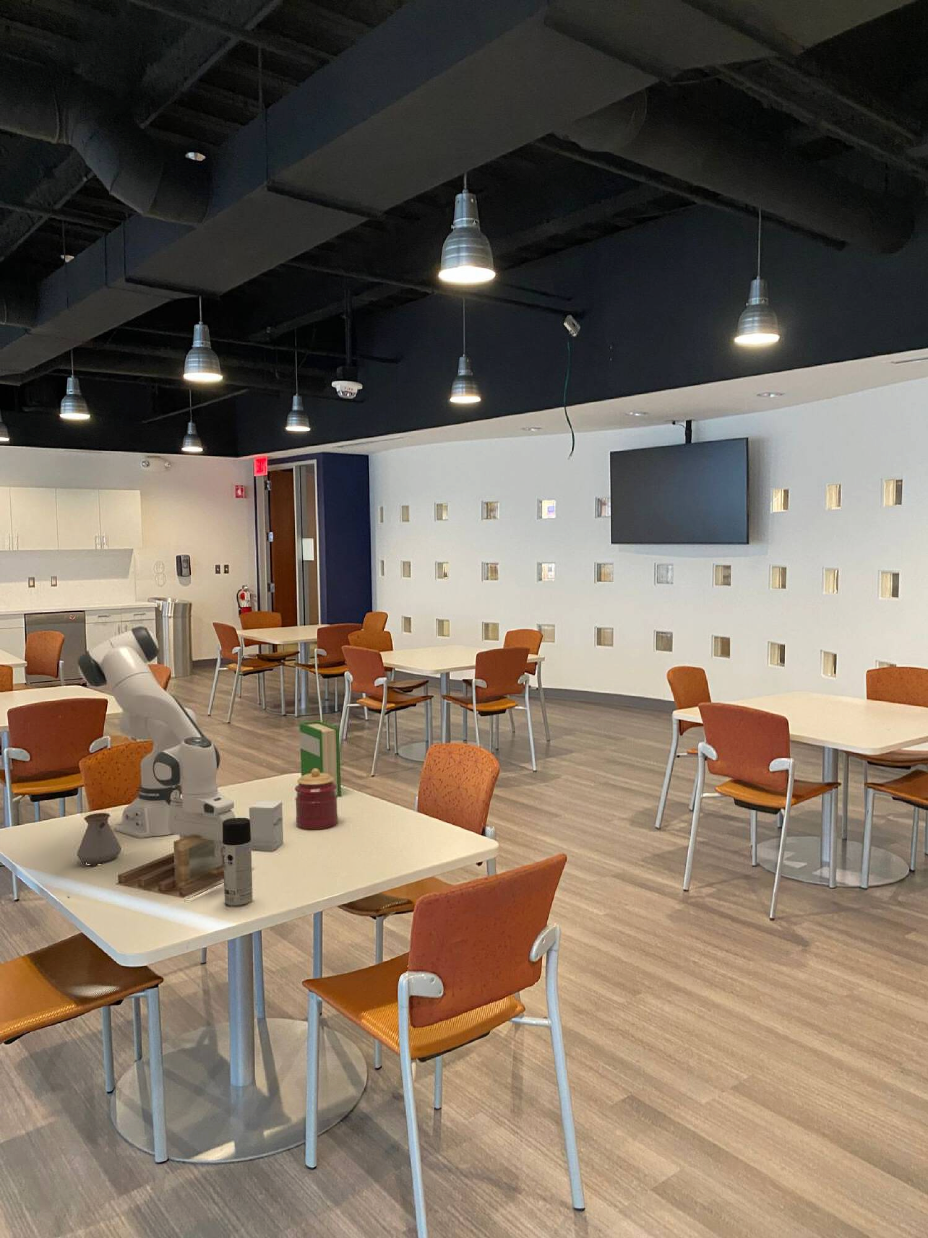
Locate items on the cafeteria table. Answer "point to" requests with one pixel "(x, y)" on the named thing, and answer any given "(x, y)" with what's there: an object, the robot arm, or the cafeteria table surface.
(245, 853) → the spray can
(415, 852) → the cafeteria table surface
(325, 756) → the hardback book
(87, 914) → the cafeteria table surface
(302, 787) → the canister
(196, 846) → the wooden picture frame
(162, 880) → the slotted rack
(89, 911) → the cafeteria table surface
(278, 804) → the supplement box
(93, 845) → the coffee pot
